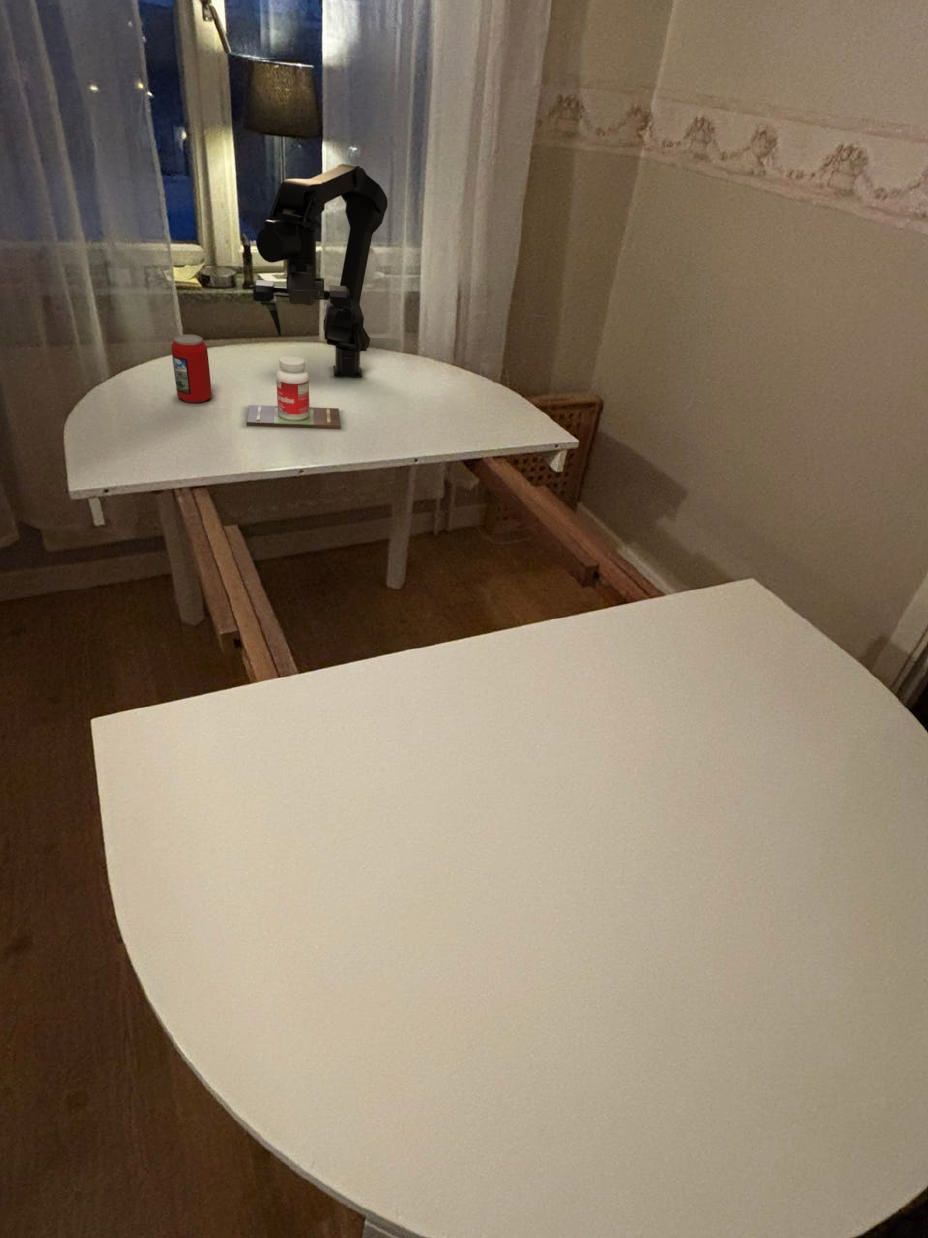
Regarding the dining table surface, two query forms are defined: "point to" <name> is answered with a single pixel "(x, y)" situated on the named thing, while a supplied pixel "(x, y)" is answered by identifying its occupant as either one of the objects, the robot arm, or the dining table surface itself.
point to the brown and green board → (271, 418)
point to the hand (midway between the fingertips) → (302, 337)
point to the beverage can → (191, 368)
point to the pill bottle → (292, 389)
